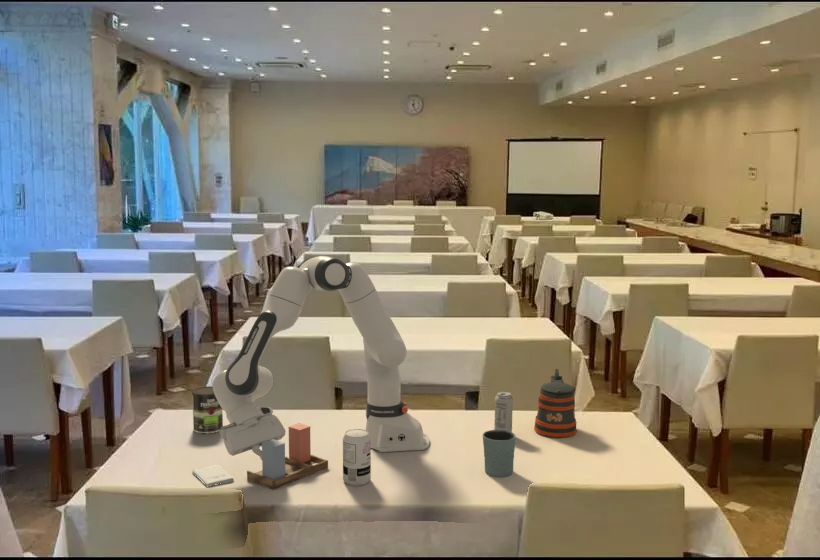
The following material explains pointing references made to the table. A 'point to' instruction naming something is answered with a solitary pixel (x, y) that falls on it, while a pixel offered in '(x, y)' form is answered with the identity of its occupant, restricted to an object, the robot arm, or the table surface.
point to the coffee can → (206, 411)
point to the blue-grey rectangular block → (273, 459)
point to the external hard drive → (213, 475)
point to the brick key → (299, 442)
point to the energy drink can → (503, 411)
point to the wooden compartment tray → (290, 472)
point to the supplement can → (356, 457)
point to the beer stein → (556, 409)
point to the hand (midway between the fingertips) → (267, 458)
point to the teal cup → (499, 452)
